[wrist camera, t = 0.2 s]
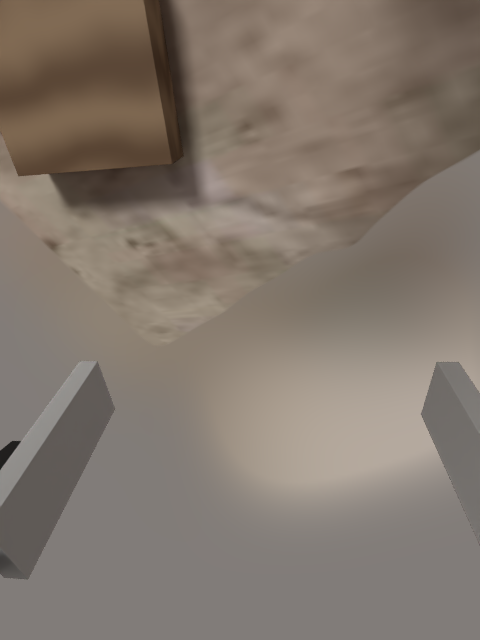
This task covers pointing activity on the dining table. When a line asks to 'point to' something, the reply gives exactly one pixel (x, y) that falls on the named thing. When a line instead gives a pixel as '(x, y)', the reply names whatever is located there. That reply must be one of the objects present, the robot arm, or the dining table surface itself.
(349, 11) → the dining table surface
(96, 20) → the walnut block
